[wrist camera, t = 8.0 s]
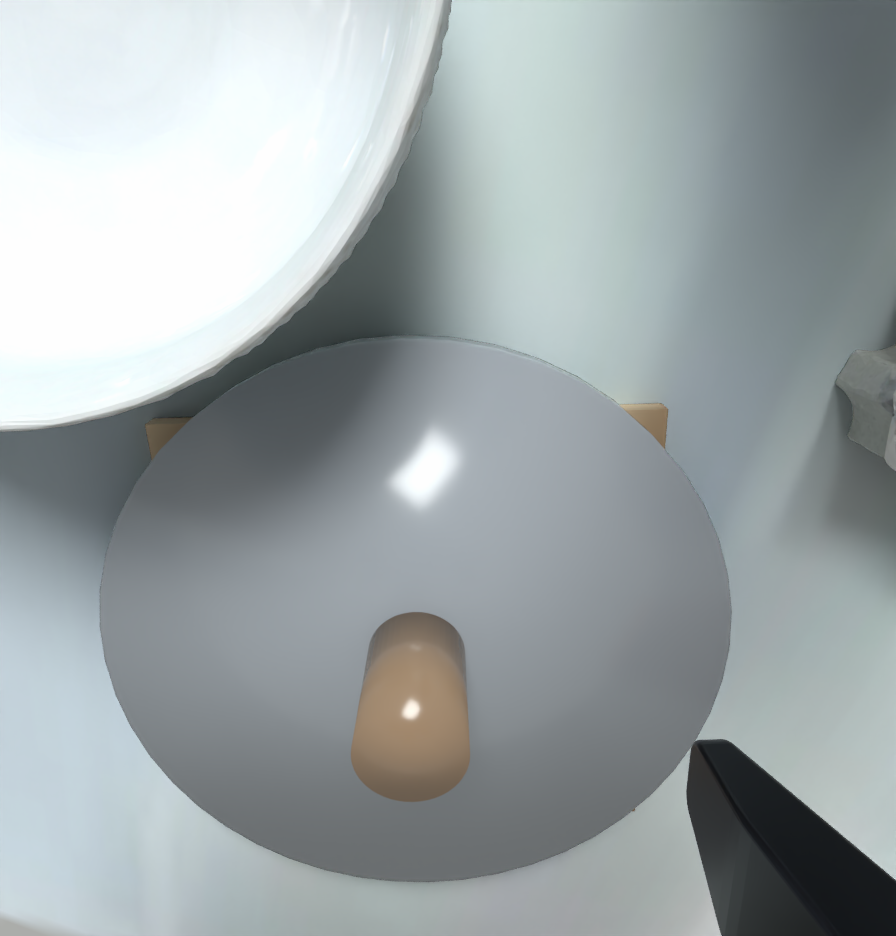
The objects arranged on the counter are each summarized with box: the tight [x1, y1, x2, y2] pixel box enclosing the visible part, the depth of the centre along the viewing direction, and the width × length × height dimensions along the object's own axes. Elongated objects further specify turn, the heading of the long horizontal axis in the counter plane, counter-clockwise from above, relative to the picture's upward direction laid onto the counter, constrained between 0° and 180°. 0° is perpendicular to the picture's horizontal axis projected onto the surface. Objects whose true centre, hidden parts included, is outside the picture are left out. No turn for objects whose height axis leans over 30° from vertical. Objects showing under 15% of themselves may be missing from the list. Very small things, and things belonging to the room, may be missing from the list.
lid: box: [100, 335, 732, 882], centre depth 19 cm, size 18×18×5 cm
